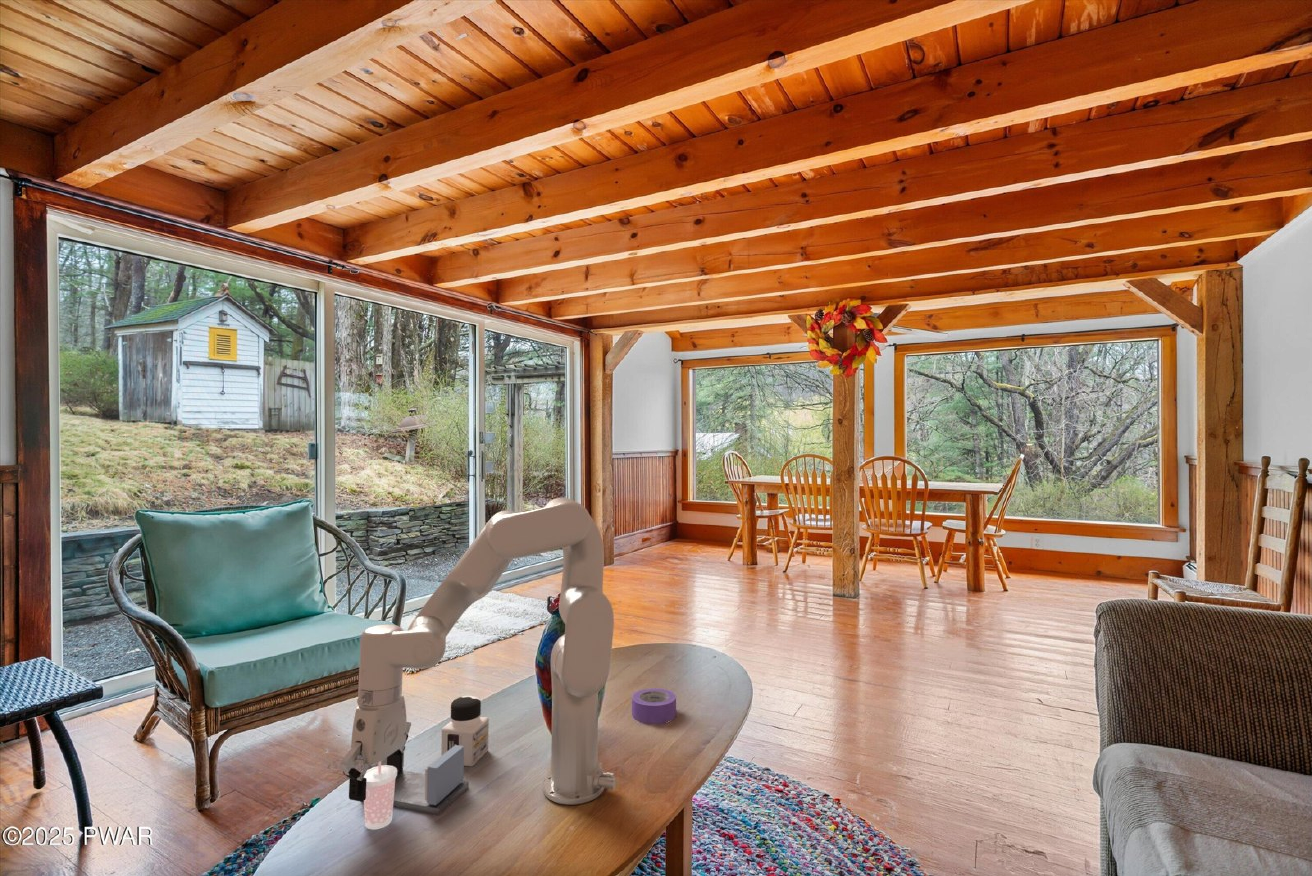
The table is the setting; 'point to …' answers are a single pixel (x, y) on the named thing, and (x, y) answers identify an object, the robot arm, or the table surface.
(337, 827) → the table surface
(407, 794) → the vise base
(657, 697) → the tape roll
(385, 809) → the beverage cup
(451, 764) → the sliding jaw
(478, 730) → the container
